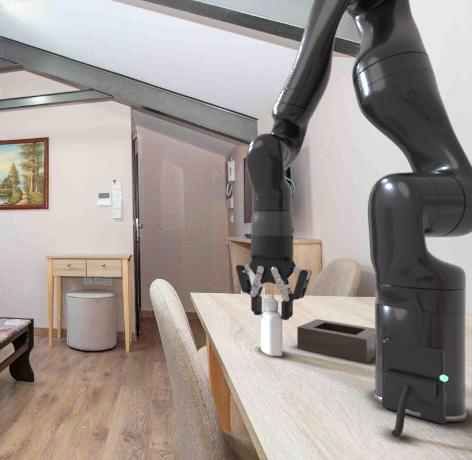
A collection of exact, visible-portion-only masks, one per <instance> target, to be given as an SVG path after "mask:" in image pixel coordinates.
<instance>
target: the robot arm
mask: <svg viewBox="0 0 472 460" xmlns="http://www.w3.org/2000/svg"><path fill="white" fill-rule="evenodd" d="M411 9H412V8H411V3H410V0H313V2H312V5H311V9H310V11H309V15H308V18H307V21H306V24H305V27H304V30H303V33H302V37H301V41H300V44H299V47H298V49H297V53H296V55H295V58H294V62H293V64H292V67H291V70H290V71H289V73H288V76H287V78H286V80H285V82H284V85H283V86H282V89H281V91H280V93H279V95H278V97H277V99H276V101H275V103H274V105H273V107H272V111H271V118H272V120H273V125H272V128H271V130H270V133H267V132H266V133H262V134H259V135H257V136H255V137H254V138H253V139H252V140H251V141H250V142H249V144H248V146H247V151H246V155H245V156H246V157H245V158H246V159H245V160H246V162H245V163H246V169H247V174H248V179H249V182H250V186H251V190H252V196H251V199H252V201H251V206H252V207H251V211H252V213H251V219H250V257H251V258H250V261H249V262H248V263H246V264H237V265H236V266H235V270H236V275H237V277H238V282H239V286H240V290H241V292H242V293H246V294H247V295H249V296H250V304H251V306H250V308H251V312H253V315H254V316H261V313H262V312H263V296H261V295H262V293H263V290H264V287H266V285H267V283H268V284H269V283H270V284H273V285H276V287H277V289H278V290H279V292H280V295H281V298H282V300H281V305H280V306H281V308H280V309H281V313H280V315H281V318H282V321H288V320H290V318H292V317H293V315H294V301H295V300H300V299H303V298H305V295H306V292H307V289H308V286H309V282H310V279H311V276H312V274H313V273H312V270H311V269H309V268H306V269H305V268H301V267H298V266H297V265H296V264H295V262H294V233H295V228H294V217H293V191H292V190H293V189H292V187H291V185H290V183H288V182H287V179H286V176H285V170H288V169H289V168H290V167H291V166H292V165H293V164H294V162H295V161H296V160H297V158H298V156H299V154H300V152H301V150H302V148H303V145H304V142H305V139H306V135H307V131H308V128H309V125H310V121H311V118H312V117H313V116H314V114H315V112H316V110H317V109H318V106H319V105H320V102H321V101H322V98H323V96H324V94H325V93H326V90H327V88H328V86H329V82H330V79H331V74H332V68H333V58H334V48H335V41H336V37H337V32H338V29H339V26H340V23H341V20H342V18H343V16H344V14H345V13H346V14H348V15H349V16H350V18H351V19H352V22H353V23H354V25H355V27H356V31H357V33H358V37H359V43H360V45H359V49H358V52H357V54H356V57H355V59H354V62H353V65H352V69H351V79H352V80H351V81H352V86H353V89H354V94H355V97H356V102H357V105H358V108H359V111H360V113H361V114H362V115H363V117H364V118H365V119H366V120H367V121H368V122H369V123H370V124H371V125H372V126H373V127H374V128H375V129H377V130H378V132H380V133H381V134H382V135H384V137H386V138H387V139H388V140H389V141H391V142H392V143H393V144H394V145H395V146H396V147H397V148H398V149H399V150H400V151H401V152H402V154H403V155H404V157H405V158H406V161H407V162H408V164H409V166H410V169H411V172H409V171H408V172H407V171H405V172H394V173H388V174H386V175H383V176H381V177H380V178H378V180H377V181H376V182H375V183H374V184H373V186H372V188H371V190H370V192H369V196H368V202H367V225H368V235H369V236H368V237H369V257H370V262H371V265H372V268H373V271H374V281H375V282H374V285H375V286H374V292H375V293H374V297H375V299H374V301H375V302H374V328H375V357H374V391H373V397H374V399H375V400H376V401H378V402H379V403H380V404H381V407H382V408H384V409H388V410H391V411H395V412H396V416H395V417H396V418H395V425H394V429H393V430H391V436H393V437H394V438H399V437H400V436H401V435H402V433H403V431H404V426H405V419H406V418H405V417H406V415H410V416H413V417H417V418H421V419H423V420H426V421H431V422H434V423H438V424H442V425H444V424H445V423H447V422H449V423H451V422H452V423H453V422H454V423H455V422H462V421H466V419H467V409H466V310H467V309H466V307H467V305H466V304H467V303H466V301H467V300H466V298H467V295H466V287H467V277H466V271H465V270H464V269H463V268H462V267H461V266H459V265H456V264H454V263H452V262H451V263H450V262H448V261H445V260H443V259H440V258H438V257H436V256H435V255H433V254H432V252H430V251H429V249H428V246H427V241H426V238H456V237H463V236H466V235H470V234H471V233H472V164H471V162H470V160H469V158H468V156H467V153H466V152H465V150H464V148H463V146H462V145H461V142H460V140H459V139H458V137H457V134H456V132H455V130H454V126H453V125H452V122H451V119H450V116H449V114H448V111H447V110H446V107H445V104H444V102H443V99H442V97H441V96H442V95H441V92H440V90H439V86H438V82H437V78H436V74H435V71H434V69H433V65H432V62H431V60H430V59H431V58H430V56H429V55H428V52H427V49H426V47H425V44H424V42H423V39H422V35H421V32H420V31H419V28H418V26H417V23H416V21H415V19H414V16H413V13H412V10H411ZM251 271H252V273H253V274H254V279H253V281H252V282H251V277H250V273H251ZM293 274H295V279H297V280H296V284H295V287H294V290H293V289H292V284H291V281H290V277H291V276H292V275H293Z"/></svg>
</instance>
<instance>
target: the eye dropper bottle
mask: <svg viewBox="0 0 472 460" xmlns="http://www.w3.org/2000/svg"><path fill="white" fill-rule="evenodd" d="M263 302H264V310H262V313H261V315H260V350H261V352H262V353H264V354H266V355H268V356H272V357H282V356H283V320H282V318H281V313H280V312H279V301H278V299H276V298H275V295H274V293H268V297H267V298H266V299H264V301H263Z"/></svg>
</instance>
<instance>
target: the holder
mask: <svg viewBox="0 0 472 460" xmlns="http://www.w3.org/2000/svg"><path fill="white" fill-rule="evenodd" d="M296 332H297V333H296V335H297V336H296V339H297V340H296V341H297V342H296V343H297V344H296V345H297V346H296V347H297V349H299V350H304V351H309V352H313V353H316V354H322V355H326V356H331V357H335V358H341V359H345V360H348V361H349V360H350V361H353V362H358V363H363V364H368V363H369V362H371V361H372V360H373V359H375V327H369V326H363V325H356V324H351V323H344V322H339V321H338V322H337V321H332V320H324V319H319V318H316V319H313V320H311V321H309V322H307V323H304V324H302V325H299V326H297V331H296Z"/></svg>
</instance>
